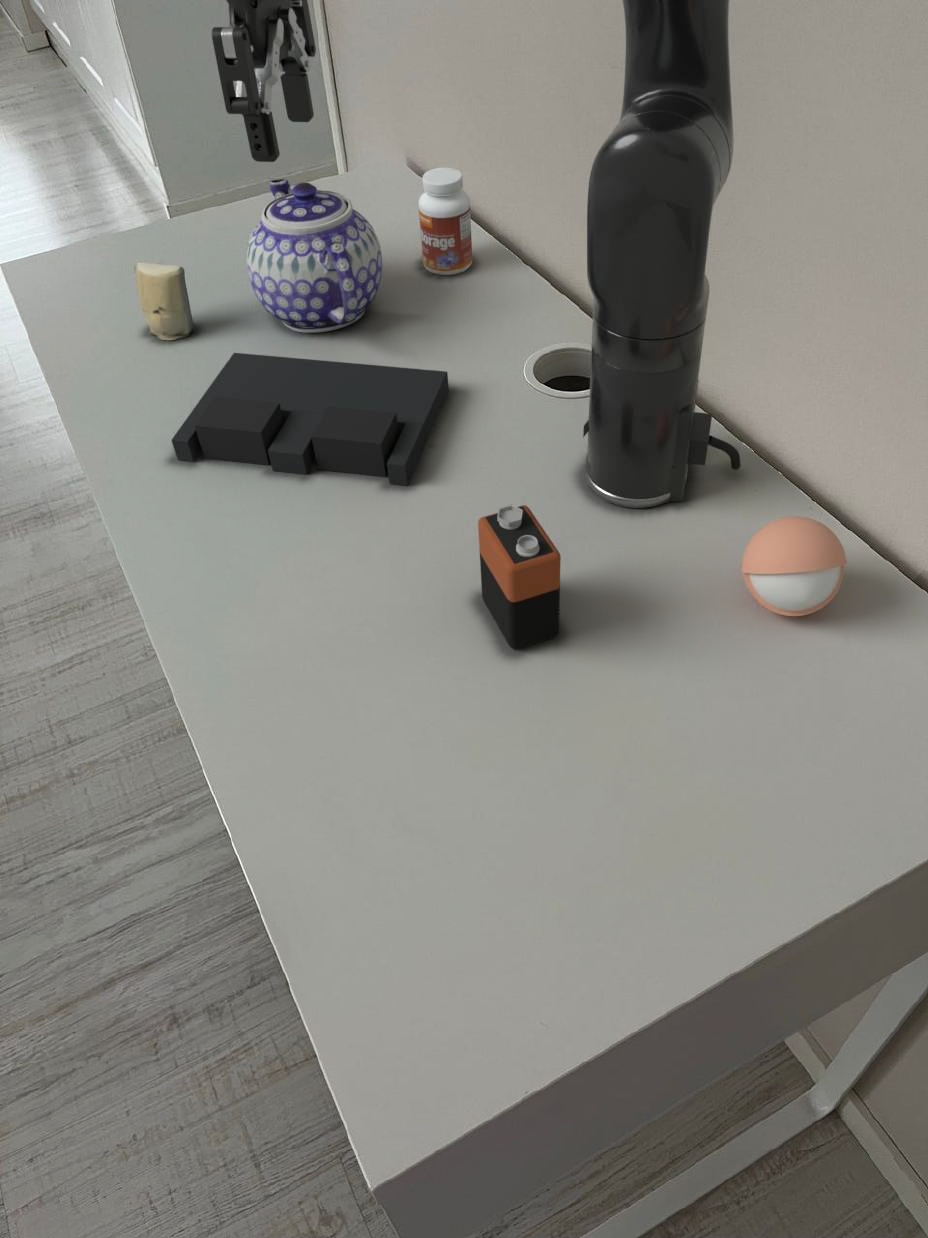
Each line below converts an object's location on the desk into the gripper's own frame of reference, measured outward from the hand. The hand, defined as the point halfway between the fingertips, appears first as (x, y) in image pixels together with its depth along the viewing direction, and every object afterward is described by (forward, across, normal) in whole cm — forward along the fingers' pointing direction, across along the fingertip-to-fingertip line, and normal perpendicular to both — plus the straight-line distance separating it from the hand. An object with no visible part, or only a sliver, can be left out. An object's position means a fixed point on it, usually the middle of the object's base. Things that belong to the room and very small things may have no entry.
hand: (284, 139), depth 87 cm
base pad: (+28, -3, +1) cm, 28 cm away
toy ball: (+28, -20, -46) cm, 57 cm away
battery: (+28, -26, -25) cm, 45 cm away
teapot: (+28, +20, +8) cm, 35 cm away
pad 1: (+28, -7, +7) cm, 29 cm away
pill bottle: (+28, +32, -4) cm, 43 cm away
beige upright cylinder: (+28, +13, +24) cm, 39 cm away
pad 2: (+28, -7, -5) cm, 29 cm away
